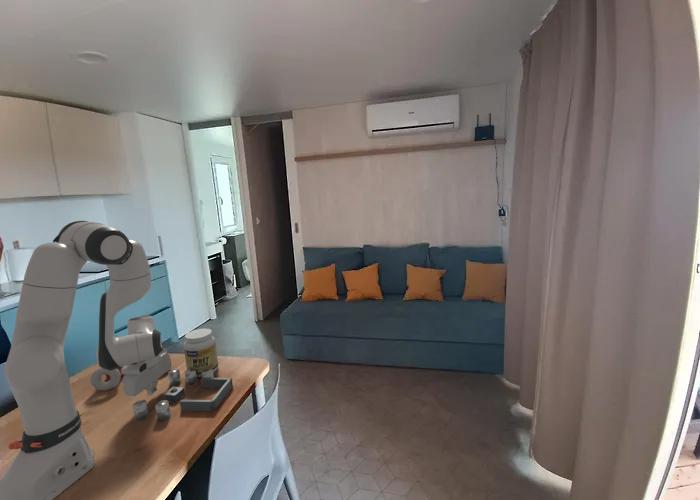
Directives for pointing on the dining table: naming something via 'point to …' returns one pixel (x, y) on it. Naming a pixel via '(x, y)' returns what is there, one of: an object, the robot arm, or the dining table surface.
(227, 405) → the dining table surface
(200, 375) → the supplement tub
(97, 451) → the dining table surface
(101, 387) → the donut
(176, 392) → the grey square block
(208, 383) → the tray
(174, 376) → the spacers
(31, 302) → the robot arm
